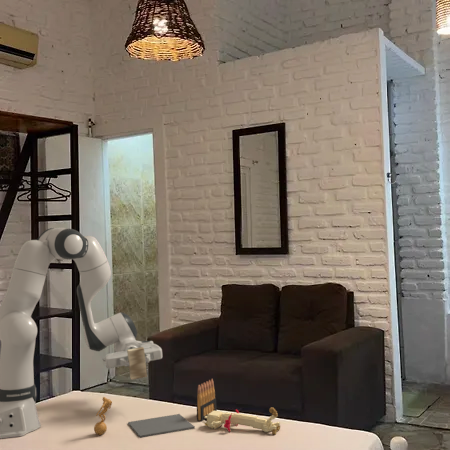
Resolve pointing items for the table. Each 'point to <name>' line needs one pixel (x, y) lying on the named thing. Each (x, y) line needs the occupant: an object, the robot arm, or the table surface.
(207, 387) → the ammunition clip
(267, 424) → the cat figure
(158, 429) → the rubber mat
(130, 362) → the pale green streaked tile
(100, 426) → the figurine
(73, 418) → the table surface
